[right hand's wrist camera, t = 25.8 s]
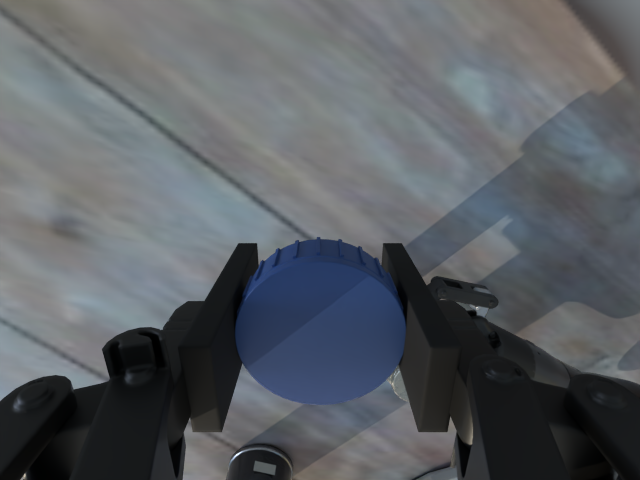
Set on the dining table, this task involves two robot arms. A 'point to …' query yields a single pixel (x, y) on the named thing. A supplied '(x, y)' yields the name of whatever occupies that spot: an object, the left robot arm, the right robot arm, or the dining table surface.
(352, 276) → the lid
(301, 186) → the dining table surface
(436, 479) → the wall clock
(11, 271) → the dining table surface
